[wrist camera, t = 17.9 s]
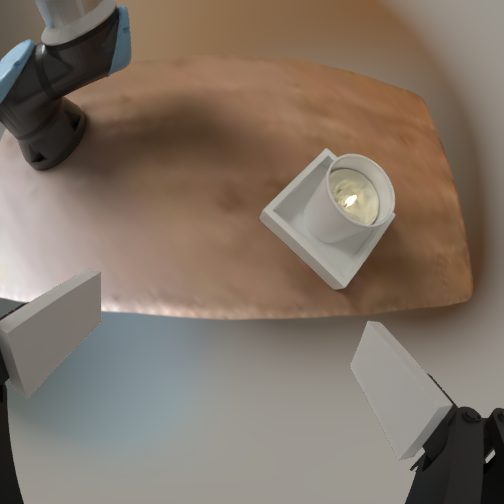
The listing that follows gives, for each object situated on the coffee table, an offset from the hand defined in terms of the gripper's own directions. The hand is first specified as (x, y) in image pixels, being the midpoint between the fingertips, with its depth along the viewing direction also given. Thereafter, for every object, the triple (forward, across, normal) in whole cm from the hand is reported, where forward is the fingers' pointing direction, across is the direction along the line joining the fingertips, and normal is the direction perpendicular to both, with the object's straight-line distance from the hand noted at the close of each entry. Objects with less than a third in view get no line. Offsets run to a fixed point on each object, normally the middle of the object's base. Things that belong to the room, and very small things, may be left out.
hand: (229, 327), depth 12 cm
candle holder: (+31, +13, +5) cm, 34 cm away
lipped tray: (+32, +13, +4) cm, 35 cm away
